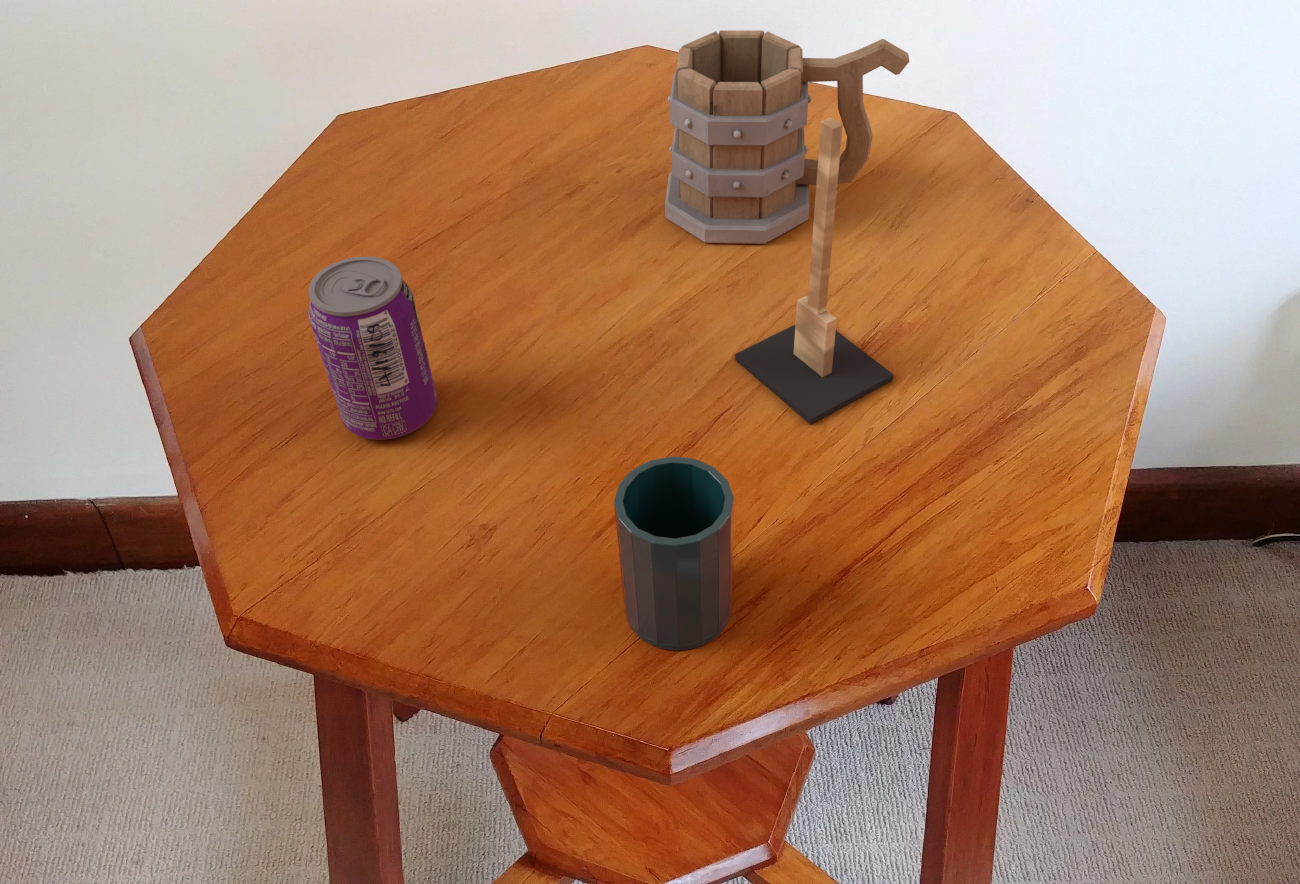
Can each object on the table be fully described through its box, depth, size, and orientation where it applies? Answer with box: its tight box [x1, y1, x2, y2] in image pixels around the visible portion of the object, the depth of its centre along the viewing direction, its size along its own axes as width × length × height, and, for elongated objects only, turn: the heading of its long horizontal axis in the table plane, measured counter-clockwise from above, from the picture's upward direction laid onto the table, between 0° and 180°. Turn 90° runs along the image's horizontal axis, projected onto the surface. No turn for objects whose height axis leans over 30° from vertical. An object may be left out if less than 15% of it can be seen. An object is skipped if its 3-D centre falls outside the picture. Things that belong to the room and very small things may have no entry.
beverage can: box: [308, 256, 438, 440], centre depth 79 cm, size 7×7×12 cm
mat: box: [734, 324, 895, 425], centre depth 85 cm, size 9×8×1 cm
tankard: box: [664, 30, 910, 245], centre depth 95 cm, size 20×13×15 cm, turn 85°
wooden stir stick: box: [794, 116, 844, 377], centre depth 77 cm, size 3×1×20 cm, turn 34°
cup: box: [613, 456, 735, 652], centre depth 66 cm, size 7×7×10 cm
